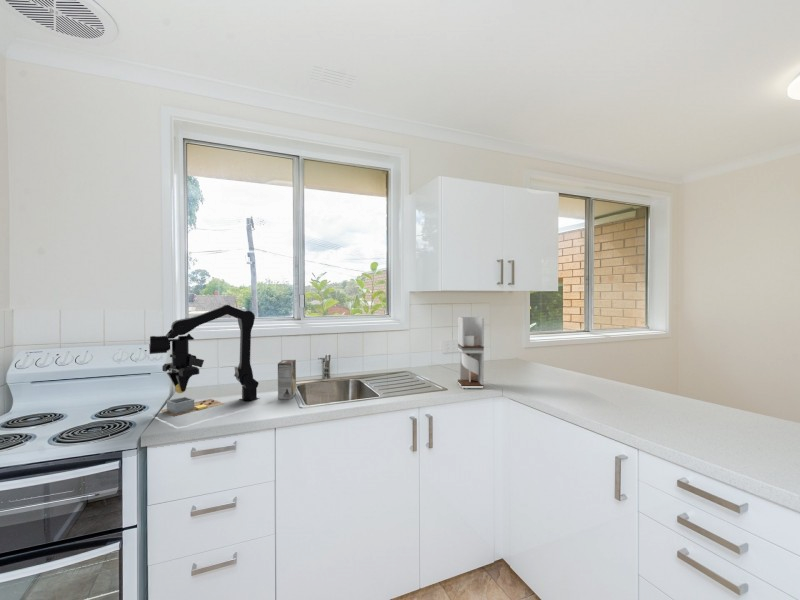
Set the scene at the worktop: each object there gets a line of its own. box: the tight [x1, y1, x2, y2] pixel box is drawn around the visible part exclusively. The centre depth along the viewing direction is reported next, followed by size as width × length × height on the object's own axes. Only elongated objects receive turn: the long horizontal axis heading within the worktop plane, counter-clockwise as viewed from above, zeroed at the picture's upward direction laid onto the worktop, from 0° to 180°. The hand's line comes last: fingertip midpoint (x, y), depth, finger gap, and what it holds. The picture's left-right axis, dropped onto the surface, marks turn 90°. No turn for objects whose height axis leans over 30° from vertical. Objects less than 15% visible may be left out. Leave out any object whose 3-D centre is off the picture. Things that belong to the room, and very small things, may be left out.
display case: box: [457, 316, 485, 386], centre depth 190 cm, size 11×11×35 cm
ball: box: [174, 384, 187, 394], centre depth 148 cm, size 4×4×4 cm
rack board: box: [160, 398, 225, 417], centre depth 153 cm, size 12×20×1 cm, turn 144°
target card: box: [194, 404, 209, 411], centre depth 151 cm, size 4×4×1 cm
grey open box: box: [166, 396, 195, 414], centre depth 148 cm, size 7×7×4 cm
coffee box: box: [277, 359, 297, 400], centre depth 171 cm, size 9×6×16 cm
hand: (180, 390), depth 148 cm, fingers closed on ball, 4 cm apart
